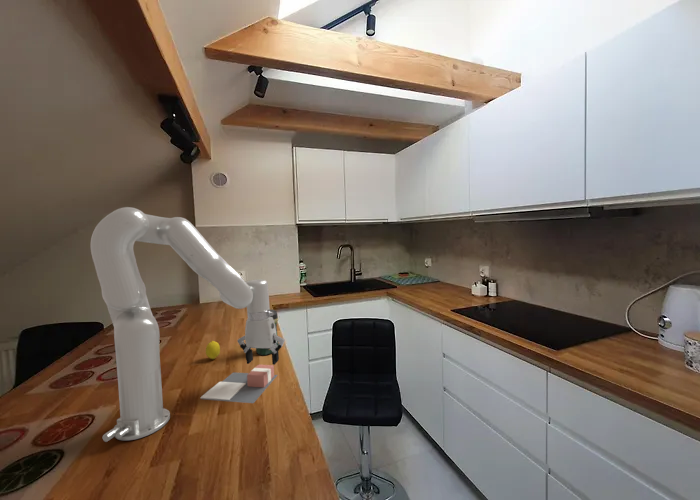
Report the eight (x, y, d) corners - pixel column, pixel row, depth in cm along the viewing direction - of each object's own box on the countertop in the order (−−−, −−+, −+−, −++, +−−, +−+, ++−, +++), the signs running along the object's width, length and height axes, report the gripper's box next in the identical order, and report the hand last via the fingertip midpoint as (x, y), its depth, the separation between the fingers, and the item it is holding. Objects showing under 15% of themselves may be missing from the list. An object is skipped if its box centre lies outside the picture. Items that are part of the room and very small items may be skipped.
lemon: (204, 359, 123) (203, 341, 122) (217, 355, 127) (216, 337, 126) (209, 363, 119) (208, 344, 119) (222, 358, 123) (221, 340, 123)
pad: (229, 400, 90) (229, 399, 90) (200, 398, 92) (200, 397, 92) (245, 384, 100) (245, 383, 100) (219, 382, 102) (219, 381, 102)
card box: (264, 387, 97) (263, 375, 97) (247, 386, 99) (246, 374, 98) (274, 376, 105) (273, 365, 105) (258, 375, 106) (258, 364, 106)
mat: (253, 404, 89) (253, 403, 88) (201, 400, 92) (200, 399, 92) (277, 376, 106) (277, 374, 106) (233, 373, 109) (233, 372, 109)
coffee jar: (262, 357, 123) (260, 314, 122) (253, 352, 129) (251, 311, 128) (282, 351, 130) (280, 310, 129) (273, 346, 135) (271, 307, 135)
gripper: (286, 311, 103) (289, 358, 104) (242, 312, 106) (245, 357, 107) (277, 318, 96) (281, 368, 97) (230, 318, 99) (234, 366, 100)
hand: (262, 362), depth 102 cm, fingers open, 9 cm apart
